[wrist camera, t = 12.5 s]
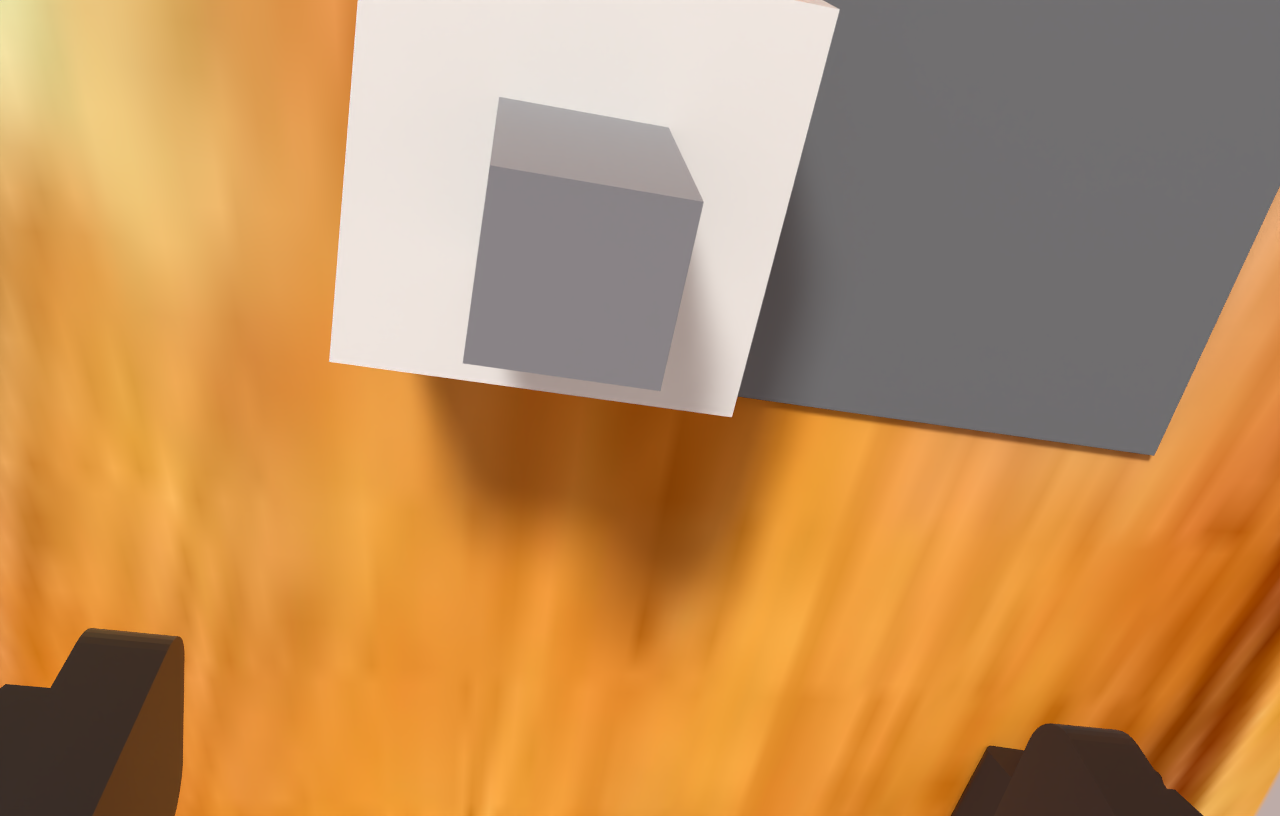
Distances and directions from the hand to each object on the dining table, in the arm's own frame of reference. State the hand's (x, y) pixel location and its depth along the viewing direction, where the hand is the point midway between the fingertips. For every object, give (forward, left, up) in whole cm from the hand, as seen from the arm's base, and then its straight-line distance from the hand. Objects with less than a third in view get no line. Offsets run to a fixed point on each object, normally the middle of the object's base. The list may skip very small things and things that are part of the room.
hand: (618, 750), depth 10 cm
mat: (-16, 0, -28) cm, 32 cm away
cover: (0, 0, -28) cm, 28 cm away
